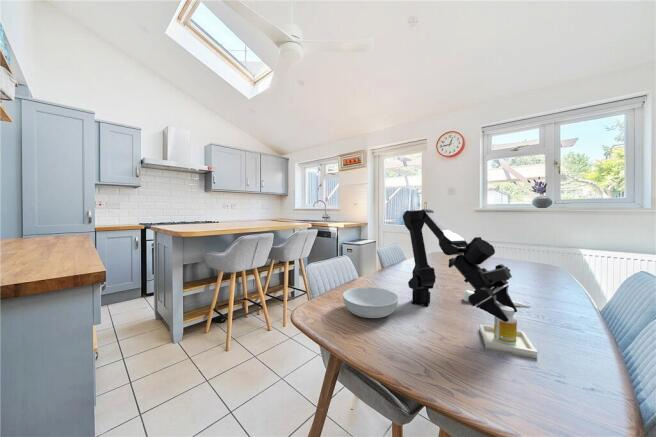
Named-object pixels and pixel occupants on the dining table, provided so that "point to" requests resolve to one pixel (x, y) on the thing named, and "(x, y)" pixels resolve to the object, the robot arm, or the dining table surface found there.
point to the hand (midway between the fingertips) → (511, 316)
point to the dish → (519, 348)
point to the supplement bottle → (506, 327)
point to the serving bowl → (370, 301)
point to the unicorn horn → (468, 293)
